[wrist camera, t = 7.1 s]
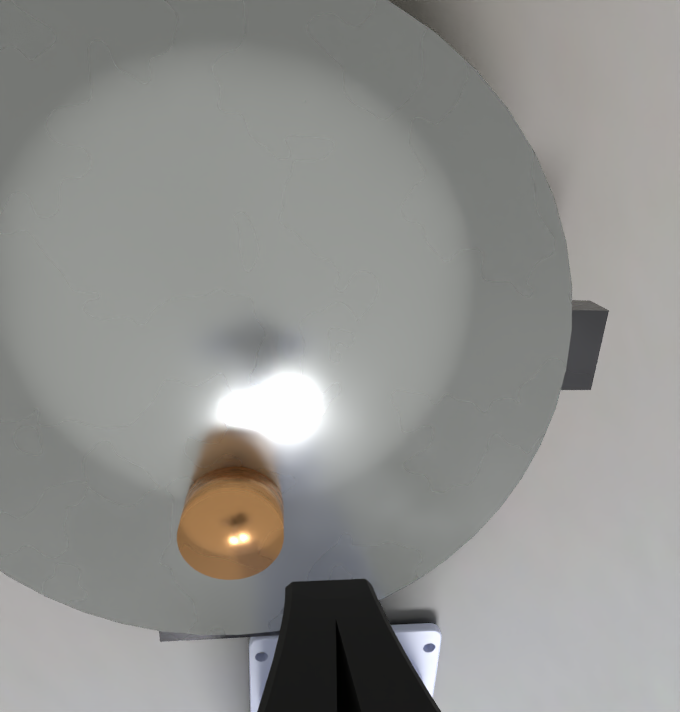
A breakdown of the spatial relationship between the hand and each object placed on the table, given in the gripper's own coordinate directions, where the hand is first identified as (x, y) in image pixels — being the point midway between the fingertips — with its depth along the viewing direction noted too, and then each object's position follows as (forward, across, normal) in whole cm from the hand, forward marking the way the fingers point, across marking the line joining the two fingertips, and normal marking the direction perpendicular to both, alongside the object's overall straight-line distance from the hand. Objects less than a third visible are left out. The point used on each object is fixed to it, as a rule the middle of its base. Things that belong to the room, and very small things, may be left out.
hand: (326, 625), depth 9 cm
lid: (+6, +2, -3) cm, 7 cm away
